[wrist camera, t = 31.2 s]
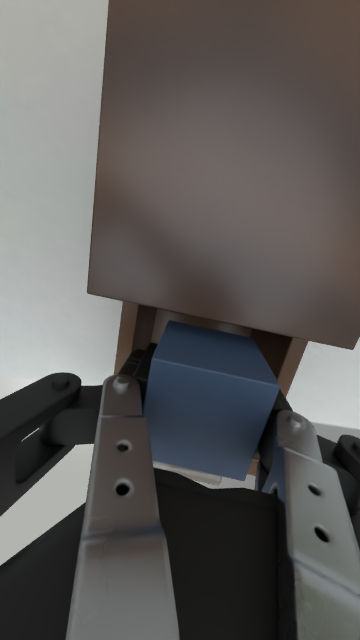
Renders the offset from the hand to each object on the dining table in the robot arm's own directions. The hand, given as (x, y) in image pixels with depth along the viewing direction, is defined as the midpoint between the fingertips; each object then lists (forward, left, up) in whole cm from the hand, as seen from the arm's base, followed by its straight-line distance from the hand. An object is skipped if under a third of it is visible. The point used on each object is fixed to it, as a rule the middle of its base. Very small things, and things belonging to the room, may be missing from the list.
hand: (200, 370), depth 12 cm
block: (0, 0, 0) cm, 0 cm away
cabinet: (0, +11, -8) cm, 13 cm away
